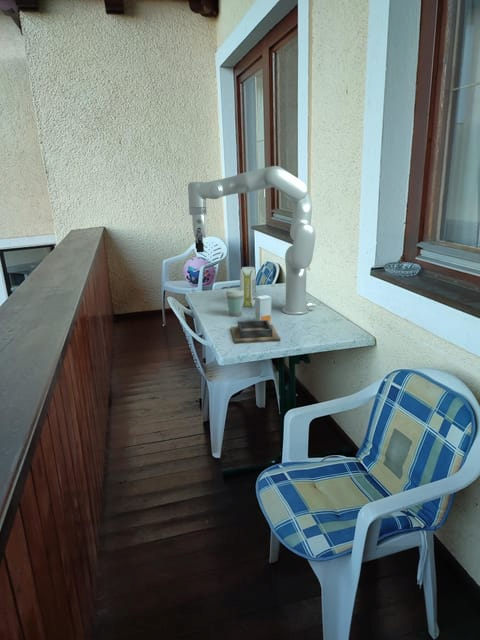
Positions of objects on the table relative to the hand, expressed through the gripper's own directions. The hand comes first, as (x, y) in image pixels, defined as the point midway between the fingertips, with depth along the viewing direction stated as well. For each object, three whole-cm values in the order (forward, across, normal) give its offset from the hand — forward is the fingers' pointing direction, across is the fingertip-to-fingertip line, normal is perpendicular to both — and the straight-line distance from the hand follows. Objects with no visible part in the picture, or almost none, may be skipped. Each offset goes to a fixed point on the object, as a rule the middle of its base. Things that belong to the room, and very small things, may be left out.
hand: (199, 250), depth 198 cm
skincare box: (+31, -16, -26) cm, 43 cm away
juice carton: (+31, +15, -24) cm, 42 cm away
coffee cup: (+31, -1, -15) cm, 35 cm away
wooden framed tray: (+31, -30, -20) cm, 48 cm away
